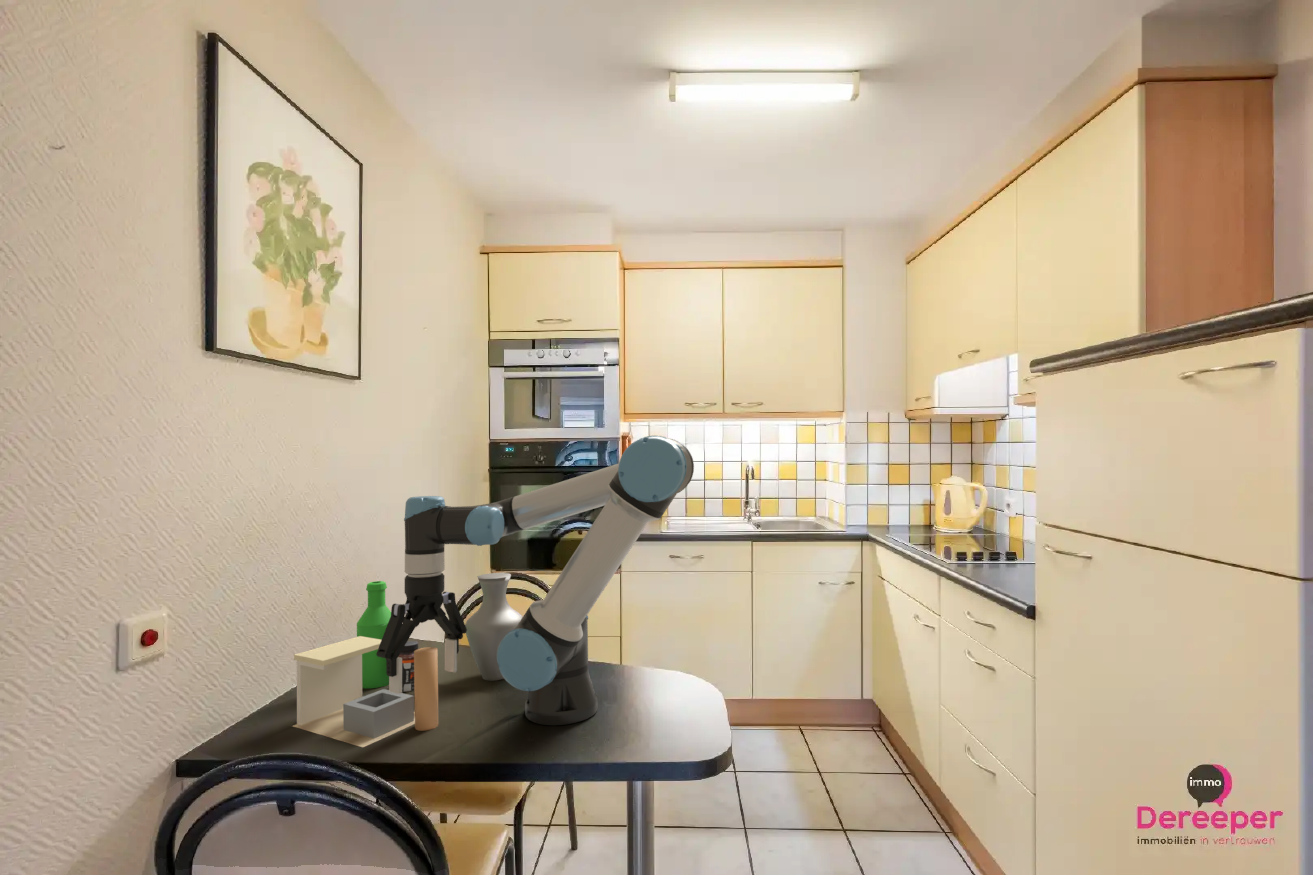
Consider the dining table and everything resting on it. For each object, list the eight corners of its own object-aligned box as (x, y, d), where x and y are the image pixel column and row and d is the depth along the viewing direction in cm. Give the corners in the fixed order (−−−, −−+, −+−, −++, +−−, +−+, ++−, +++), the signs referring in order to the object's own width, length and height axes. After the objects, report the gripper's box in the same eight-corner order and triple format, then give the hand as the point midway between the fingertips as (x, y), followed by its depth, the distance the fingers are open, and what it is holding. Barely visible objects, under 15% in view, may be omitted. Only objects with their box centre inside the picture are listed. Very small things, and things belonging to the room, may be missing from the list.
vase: (485, 665, 168) (483, 569, 169) (535, 668, 164) (533, 570, 165) (453, 684, 154) (452, 579, 155) (507, 688, 150) (505, 581, 151)
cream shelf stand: (389, 706, 137) (388, 640, 137) (323, 733, 124) (323, 660, 124) (360, 699, 142) (360, 635, 142) (294, 724, 128) (293, 654, 129)
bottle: (398, 678, 159) (397, 577, 160) (395, 690, 150) (394, 583, 151) (359, 683, 156) (358, 580, 157) (354, 695, 148) (353, 586, 149)
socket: (413, 720, 129) (413, 695, 129) (374, 738, 121) (373, 711, 121) (383, 713, 133) (383, 688, 134) (343, 729, 125) (343, 703, 126)
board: (432, 721, 131) (432, 715, 131) (363, 753, 117) (363, 747, 117) (362, 704, 142) (362, 698, 142) (292, 731, 128) (292, 725, 128)
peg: (443, 729, 127) (442, 648, 128) (425, 738, 123) (424, 654, 124) (427, 725, 129) (427, 646, 130) (410, 734, 125) (409, 651, 126)
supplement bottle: (413, 697, 146) (412, 647, 146) (390, 695, 147) (389, 646, 147) (427, 688, 152) (427, 639, 152) (405, 686, 153) (404, 639, 153)
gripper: (458, 563, 140) (458, 660, 139) (356, 582, 118) (355, 698, 118) (483, 565, 137) (483, 665, 136) (383, 586, 115) (382, 705, 114)
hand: (424, 681), depth 127 cm, fingers open, 13 cm apart
